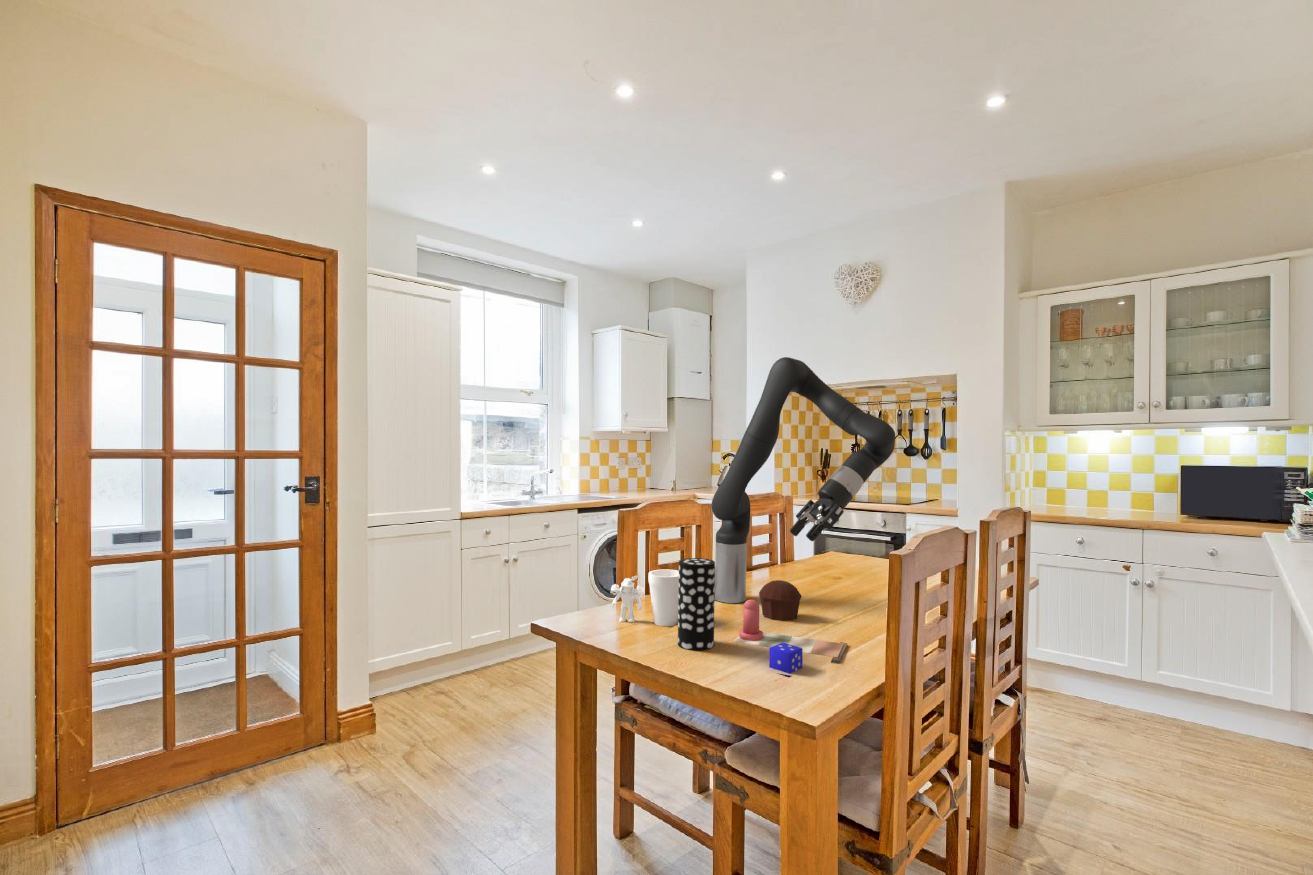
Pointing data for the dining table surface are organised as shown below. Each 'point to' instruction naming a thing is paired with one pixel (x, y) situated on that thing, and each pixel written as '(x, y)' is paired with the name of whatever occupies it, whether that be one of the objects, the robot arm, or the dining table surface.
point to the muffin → (780, 600)
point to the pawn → (751, 622)
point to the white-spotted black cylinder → (696, 604)
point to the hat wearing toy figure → (627, 597)
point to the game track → (802, 645)
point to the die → (785, 658)
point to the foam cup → (664, 596)
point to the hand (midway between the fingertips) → (800, 536)
